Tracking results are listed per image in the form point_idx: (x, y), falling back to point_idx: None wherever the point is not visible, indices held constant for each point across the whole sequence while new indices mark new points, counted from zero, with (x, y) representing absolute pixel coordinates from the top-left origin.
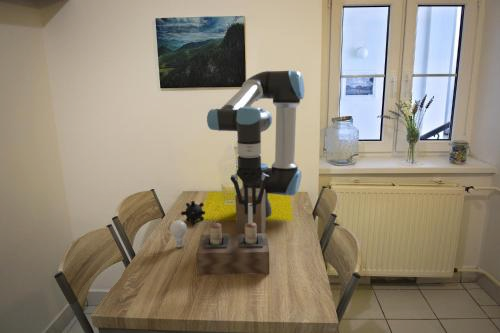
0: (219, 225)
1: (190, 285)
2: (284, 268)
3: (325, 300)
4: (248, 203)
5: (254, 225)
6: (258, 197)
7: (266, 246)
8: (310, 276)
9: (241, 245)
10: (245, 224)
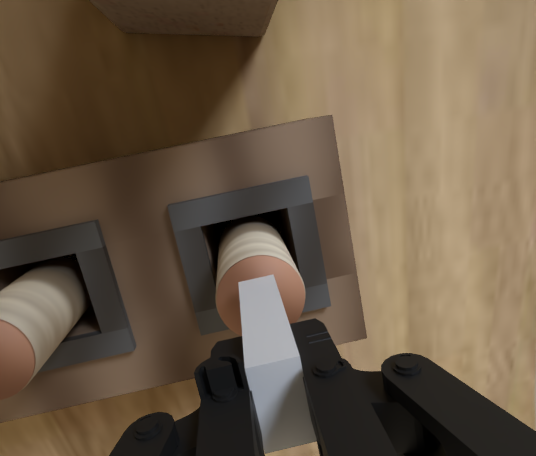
0: (19, 356)
1: (50, 425)
2: (392, 241)
3: (524, 403)
4: (251, 370)
5: (293, 306)
6: (415, 409)
7: (346, 286)
8: (491, 279)
9: (212, 323)
10: (220, 302)
